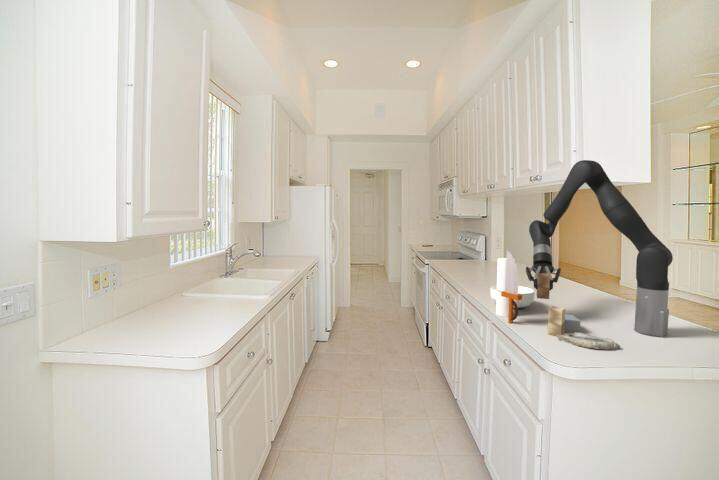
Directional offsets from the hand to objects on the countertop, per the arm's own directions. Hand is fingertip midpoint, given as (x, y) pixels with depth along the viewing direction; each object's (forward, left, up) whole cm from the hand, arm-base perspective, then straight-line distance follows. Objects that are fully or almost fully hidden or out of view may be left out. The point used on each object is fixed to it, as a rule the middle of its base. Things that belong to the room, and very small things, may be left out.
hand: (543, 288), depth 146 cm
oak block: (-11, +11, -14) cm, 21 cm away
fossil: (-21, +12, -15) cm, 28 cm away
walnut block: (+1, -2, -4) cm, 5 cm away
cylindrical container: (+15, +3, -14) cm, 21 cm away
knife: (+7, +12, -14) cm, 20 cm away
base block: (-10, +2, -14) cm, 18 cm away
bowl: (+21, -12, -14) cm, 28 cm away
